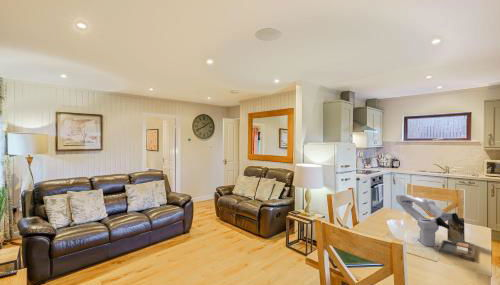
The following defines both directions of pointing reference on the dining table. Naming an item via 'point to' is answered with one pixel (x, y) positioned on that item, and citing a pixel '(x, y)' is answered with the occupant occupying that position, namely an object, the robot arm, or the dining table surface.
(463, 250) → the cream tile
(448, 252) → the tray
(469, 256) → the walnut ledge
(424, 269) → the dining table surface
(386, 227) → the dining table surface
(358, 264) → the dining table surface
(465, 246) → the terracotta tile
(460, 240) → the coffee box
